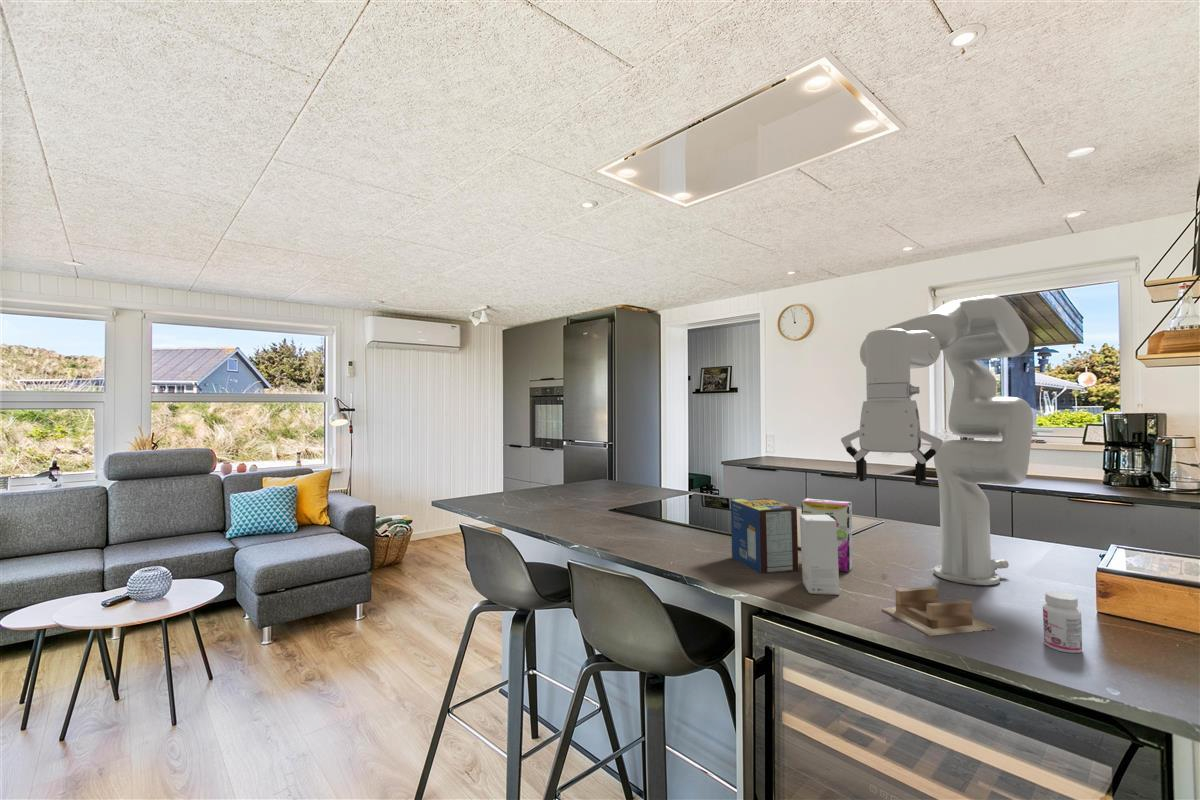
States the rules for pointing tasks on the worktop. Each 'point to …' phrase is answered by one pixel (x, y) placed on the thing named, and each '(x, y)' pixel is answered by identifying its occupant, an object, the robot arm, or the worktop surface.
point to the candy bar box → (843, 519)
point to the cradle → (934, 612)
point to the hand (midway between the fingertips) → (890, 482)
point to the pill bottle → (1062, 622)
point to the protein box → (764, 535)
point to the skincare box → (819, 554)
